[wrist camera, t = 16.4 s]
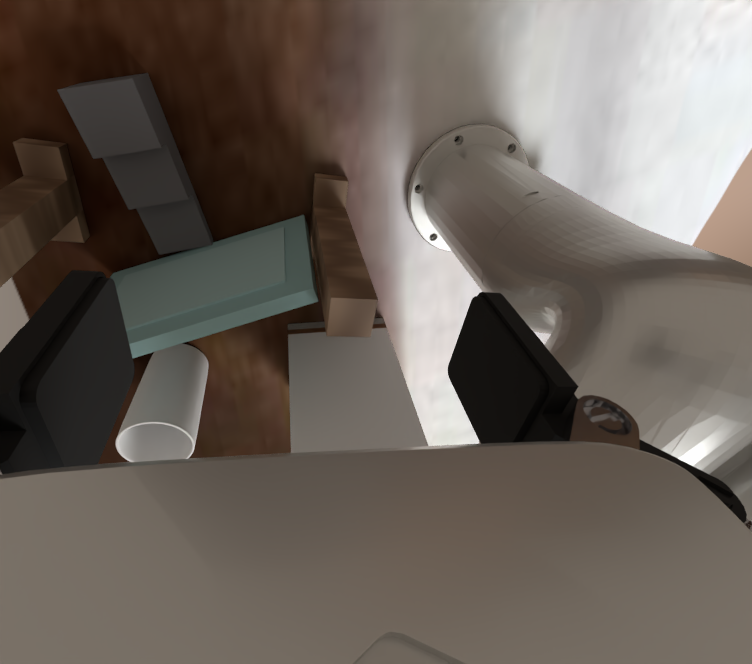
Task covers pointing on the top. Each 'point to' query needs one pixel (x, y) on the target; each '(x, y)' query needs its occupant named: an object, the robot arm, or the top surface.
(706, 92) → the top surface
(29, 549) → the robot arm
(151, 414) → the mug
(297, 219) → the door
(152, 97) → the block
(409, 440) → the white block
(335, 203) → the door frame
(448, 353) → the top surface
